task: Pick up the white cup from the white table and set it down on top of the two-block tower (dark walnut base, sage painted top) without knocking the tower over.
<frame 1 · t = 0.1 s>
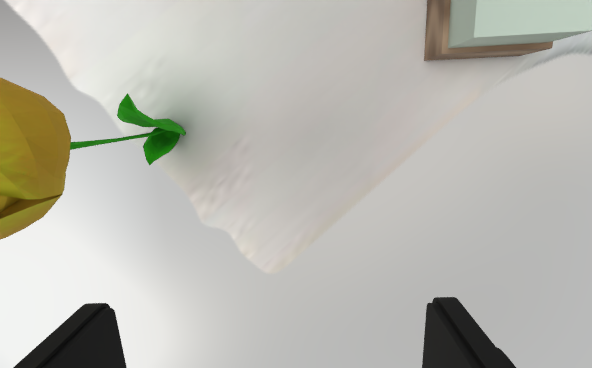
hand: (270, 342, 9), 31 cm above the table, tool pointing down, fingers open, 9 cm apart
flower: (176, 127, 39), on the table
tower base block: (475, 6, 35), on the table, touching tower top block
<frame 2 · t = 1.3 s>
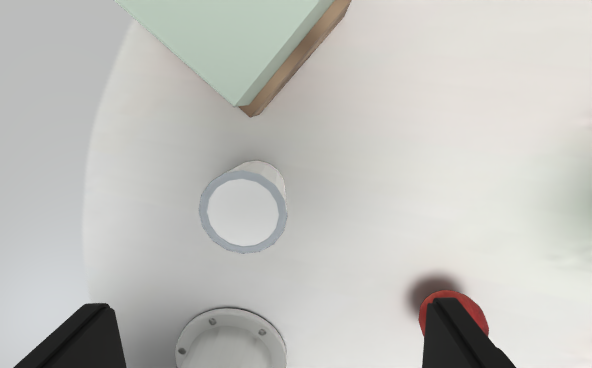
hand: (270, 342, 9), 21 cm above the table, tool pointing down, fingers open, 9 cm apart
onion: (435, 297, 33), on the table
tower top block: (239, 1, 22), point 5 cm above the table, touching tower base block
white cup: (257, 187, 30), on the table
tower base block: (253, 22, 27), on the table, touching tower top block
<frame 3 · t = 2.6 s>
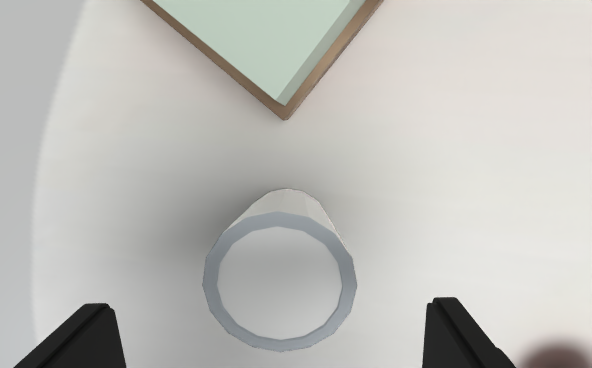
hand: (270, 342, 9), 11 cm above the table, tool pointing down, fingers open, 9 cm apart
white cup: (287, 228, 21), on the table
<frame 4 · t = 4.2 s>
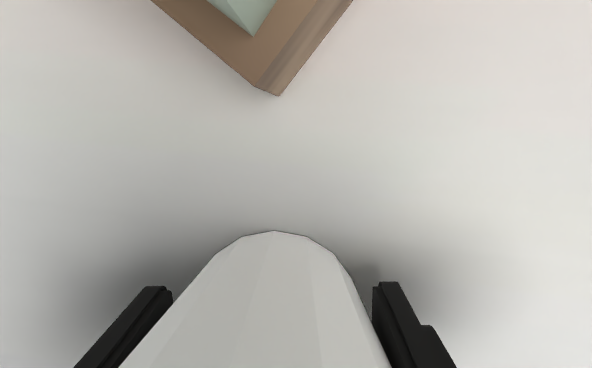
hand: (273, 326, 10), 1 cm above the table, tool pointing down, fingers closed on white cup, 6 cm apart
white cup: (276, 301, 11), on the table, touching gripper
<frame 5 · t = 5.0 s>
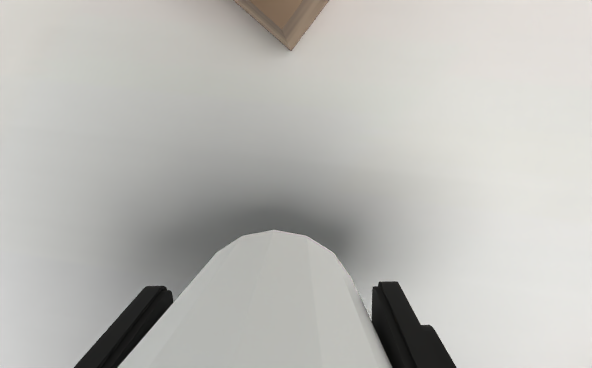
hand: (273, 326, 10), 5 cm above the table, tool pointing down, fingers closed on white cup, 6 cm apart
white cup: (276, 300, 11), point 3 cm above the table, touching gripper
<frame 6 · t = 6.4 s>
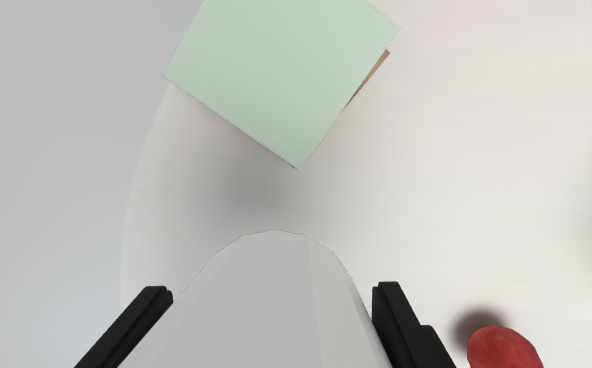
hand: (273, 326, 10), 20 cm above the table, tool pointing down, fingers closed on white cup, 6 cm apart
onion: (479, 331, 32), on the table
tower top block: (283, 66, 23), point 5 cm above the table, touching tower base block
white cup: (277, 300, 11), point 19 cm above the table, touching gripper
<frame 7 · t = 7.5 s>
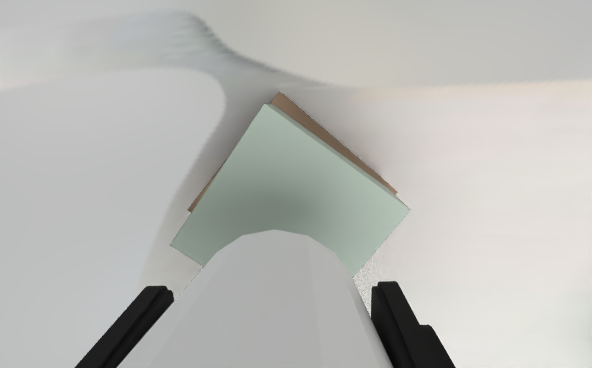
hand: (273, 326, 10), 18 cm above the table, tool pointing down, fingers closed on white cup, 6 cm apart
tower top block: (290, 202, 23), point 5 cm above the table
white cup: (277, 300, 11), point 17 cm above the table, touching gripper
tower base block: (293, 184, 27), on the table
when the fingers open (12 cm above the table, at t = 8.8 s): white cup drops 1 cm, resting on tower top block.
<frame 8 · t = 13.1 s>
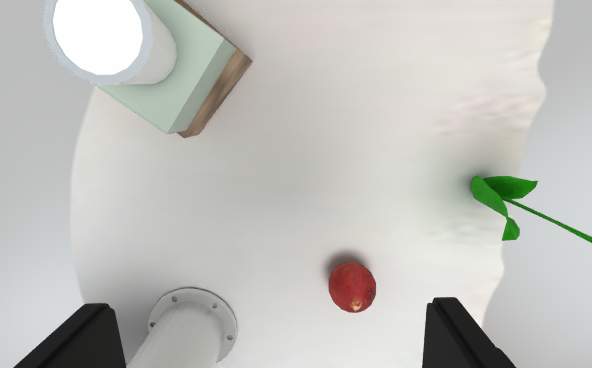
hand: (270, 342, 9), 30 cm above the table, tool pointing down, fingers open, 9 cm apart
onion: (347, 270, 42), on the table
flower: (472, 186, 39), on the table
tower top block: (169, 61, 32), point 5 cm above the table, touching white cup, tower base block
white cup: (144, 51, 27), point 10 cm above the table, touching tower top block
tower base block: (188, 68, 36), on the table, touching tower top block
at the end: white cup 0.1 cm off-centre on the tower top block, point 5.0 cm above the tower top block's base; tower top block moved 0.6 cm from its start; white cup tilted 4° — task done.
